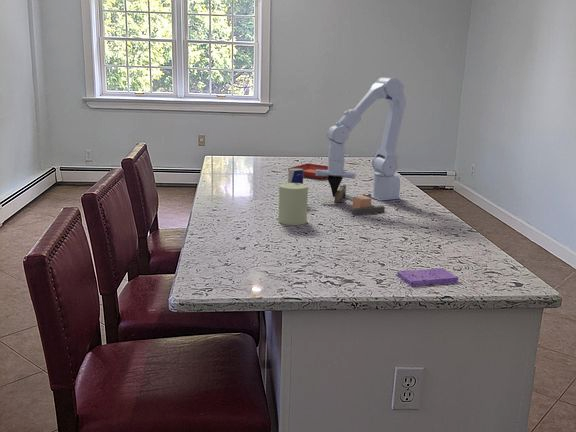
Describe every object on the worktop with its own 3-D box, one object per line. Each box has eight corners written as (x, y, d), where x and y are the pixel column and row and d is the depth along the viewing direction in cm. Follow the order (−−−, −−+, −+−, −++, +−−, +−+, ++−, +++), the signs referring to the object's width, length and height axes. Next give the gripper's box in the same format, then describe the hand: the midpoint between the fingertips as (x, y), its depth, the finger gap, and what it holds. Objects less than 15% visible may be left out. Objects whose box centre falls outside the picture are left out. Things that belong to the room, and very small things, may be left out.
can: (310, 219, 194) (312, 182, 191) (301, 226, 186) (303, 188, 183) (283, 216, 197) (284, 180, 194) (273, 223, 189) (274, 185, 186)
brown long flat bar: (343, 195, 228) (343, 187, 227) (337, 202, 215) (338, 194, 215) (340, 194, 228) (340, 187, 227) (334, 202, 216) (334, 194, 215)
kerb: (381, 210, 208) (382, 205, 207) (384, 211, 207) (384, 206, 206) (352, 213, 203) (352, 208, 202) (354, 215, 201) (355, 209, 201)
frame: (345, 194, 232) (346, 184, 230) (374, 205, 215) (374, 194, 214) (337, 195, 230) (338, 184, 229) (365, 206, 214) (366, 195, 213)
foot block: (363, 208, 211) (363, 195, 210) (370, 211, 207) (371, 198, 206) (352, 209, 209) (352, 196, 208) (359, 212, 205) (360, 199, 204)
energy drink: (300, 204, 214) (302, 170, 211) (286, 203, 215) (287, 169, 212) (303, 200, 219) (304, 168, 216) (289, 199, 220) (290, 167, 217)
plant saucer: (341, 174, 272) (342, 167, 272) (322, 181, 258) (322, 173, 257) (307, 170, 282) (307, 163, 281) (286, 175, 267) (286, 168, 266)
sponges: (396, 278, 146) (397, 270, 145) (442, 274, 149) (443, 266, 149) (410, 288, 139) (410, 280, 139) (458, 284, 143) (459, 276, 142)
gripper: (313, 159, 216) (312, 196, 220) (353, 162, 212) (351, 200, 215) (319, 156, 223) (317, 192, 226) (357, 159, 218) (355, 196, 222)
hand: (334, 196), depth 221 cm, fingers closed
